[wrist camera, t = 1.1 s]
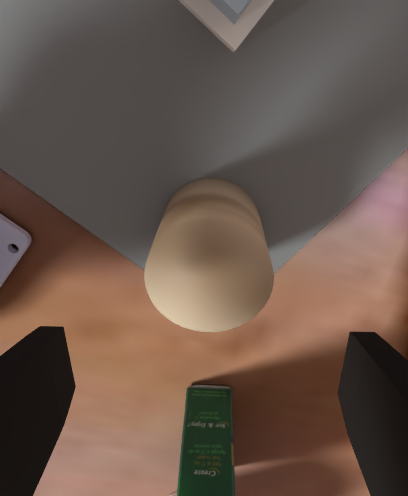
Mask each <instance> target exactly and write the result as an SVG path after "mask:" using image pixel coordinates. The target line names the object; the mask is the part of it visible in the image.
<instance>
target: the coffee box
mask: <svg viewBox="0 0 408 496" xmlns="http://www.w3.org/2000/svg"><path fill="white" fill-rule="evenodd" d="M233 442H234V436H233V414H232V389H231V388H230V387H227V386H215V385H194V386H190V387H188V388H187V392H186V404H185V415H184V425H183V433H182V444H181V455H180V466H179V477H178V488H177V496H235V474H234V451H233Z"/></svg>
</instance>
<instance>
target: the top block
mask: <svg viewBox="0 0 408 496" xmlns="http://www.w3.org/2000/svg"><path fill="white" fill-rule="evenodd" d="M209 1H210V2H211V3H212V4H213V5H214V6H215V7H216V8H217V9H218V10H219V11H220V12H221V13H222V14H224V15H225V16H226V17H227V18H228V19H229V20H230V21H231V22H232V23H233V24H235V23H236V21H237V20H238V19H239V17H240V16H241V15H242V13H243V12H244V11H245V9H246V8H247V7H248V5H249V4H250V3H251V1H252V0H209Z"/></svg>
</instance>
